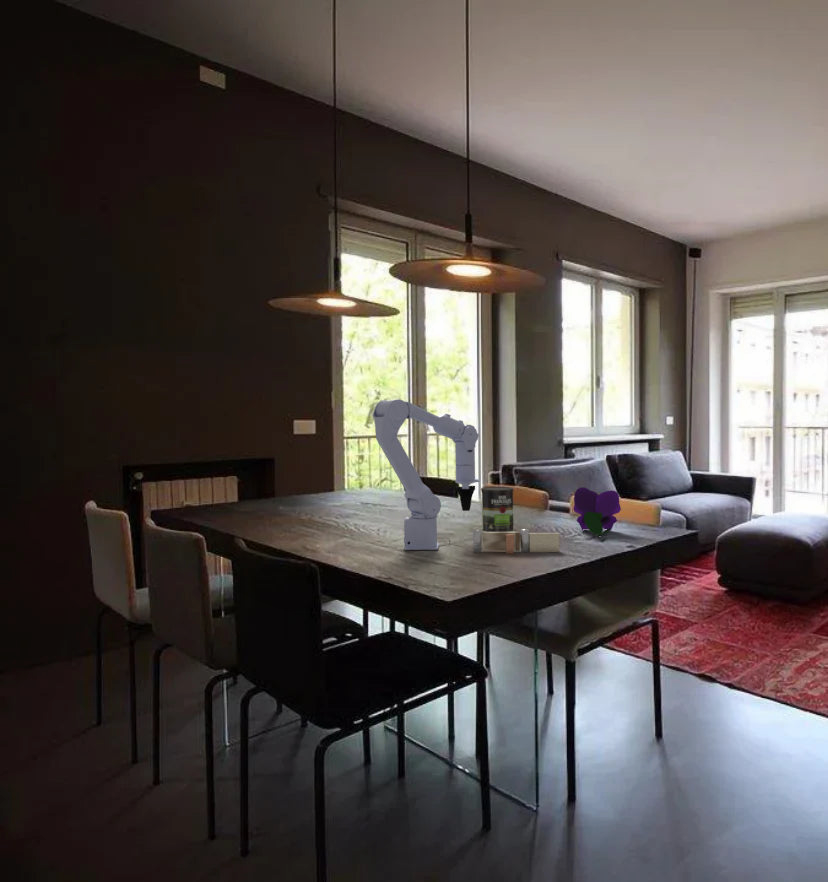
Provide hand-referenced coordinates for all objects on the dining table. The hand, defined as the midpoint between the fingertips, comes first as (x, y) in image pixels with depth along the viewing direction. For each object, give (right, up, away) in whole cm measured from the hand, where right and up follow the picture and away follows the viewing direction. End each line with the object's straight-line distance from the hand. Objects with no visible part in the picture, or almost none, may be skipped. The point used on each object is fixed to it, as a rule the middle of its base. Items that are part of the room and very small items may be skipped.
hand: (466, 510), depth 190 cm
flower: (+42, -9, +8) cm, 43 cm away
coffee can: (+11, -9, +16) cm, 21 cm away
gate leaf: (+8, -9, -14) cm, 19 cm away
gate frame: (+12, -10, -15) cm, 22 cm away
